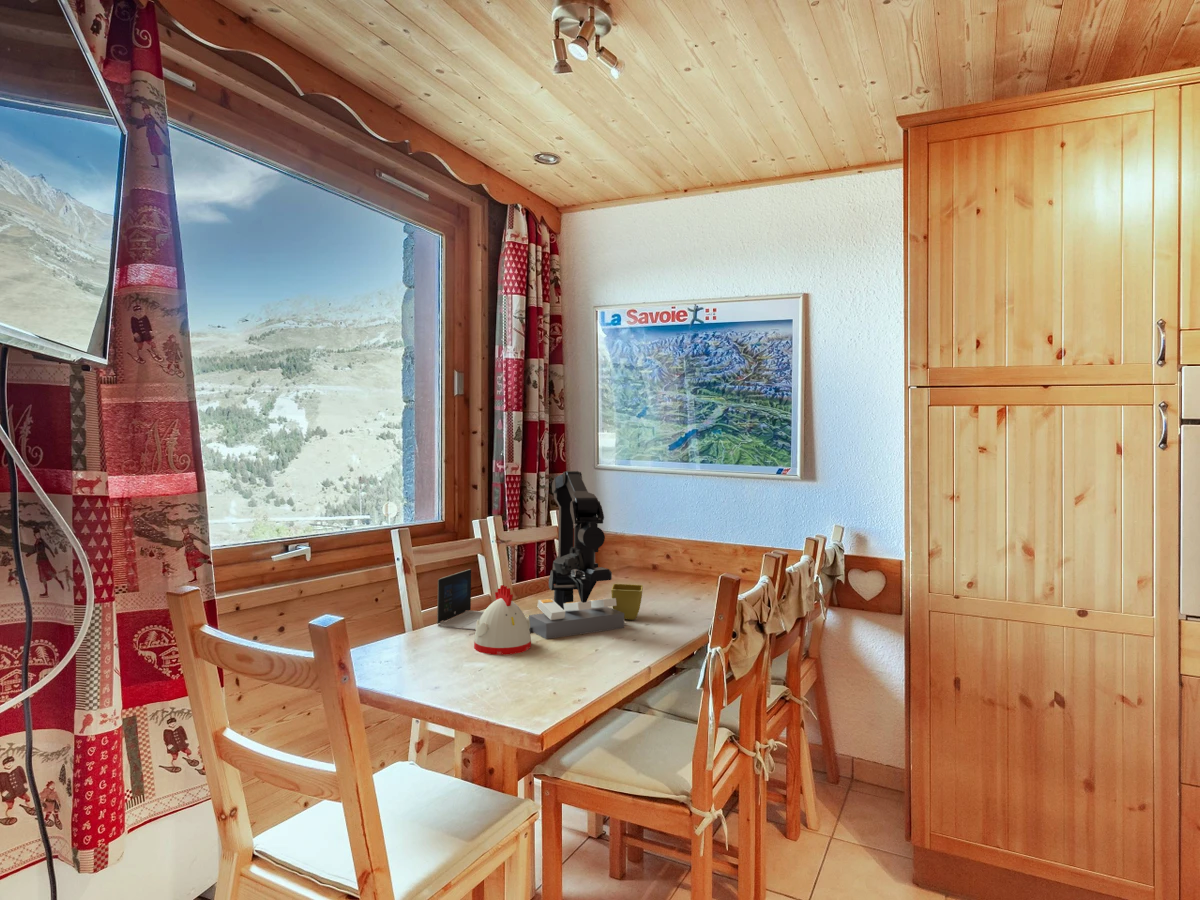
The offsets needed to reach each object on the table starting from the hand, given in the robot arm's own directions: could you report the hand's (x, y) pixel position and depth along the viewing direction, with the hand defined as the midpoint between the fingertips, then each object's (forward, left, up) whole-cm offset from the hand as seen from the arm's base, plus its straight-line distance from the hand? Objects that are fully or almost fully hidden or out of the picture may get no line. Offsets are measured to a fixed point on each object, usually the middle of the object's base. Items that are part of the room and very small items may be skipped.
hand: (583, 602), depth 191 cm
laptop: (-25, -21, -8) cm, 34 cm away
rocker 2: (-3, 0, -2) cm, 4 cm away
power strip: (-3, -3, -8) cm, 9 cm away
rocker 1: (-3, -8, -2) cm, 9 cm away
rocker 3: (-3, +8, -2) cm, 9 cm away
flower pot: (-7, +19, -8) cm, 22 cm away
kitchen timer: (+2, -24, -8) cm, 26 cm away
